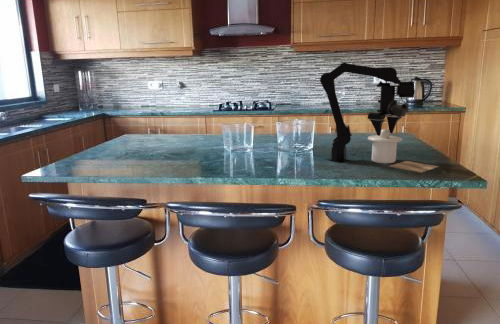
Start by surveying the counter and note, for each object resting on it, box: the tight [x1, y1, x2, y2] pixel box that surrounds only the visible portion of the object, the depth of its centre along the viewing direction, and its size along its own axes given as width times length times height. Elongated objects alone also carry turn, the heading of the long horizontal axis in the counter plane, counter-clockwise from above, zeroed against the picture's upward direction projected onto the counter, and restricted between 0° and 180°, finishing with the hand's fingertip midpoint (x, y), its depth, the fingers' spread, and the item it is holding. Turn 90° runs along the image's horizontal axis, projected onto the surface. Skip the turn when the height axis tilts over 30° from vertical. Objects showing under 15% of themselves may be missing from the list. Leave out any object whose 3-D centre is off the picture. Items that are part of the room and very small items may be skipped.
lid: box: [367, 128, 403, 143], centre depth 168 cm, size 14×14×4 cm
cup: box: [371, 141, 398, 164], centre depth 170 cm, size 10×10×10 cm
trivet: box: [389, 160, 439, 174], centre depth 160 cm, size 14×14×1 cm
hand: (385, 134), depth 168 cm, fingers open, 9 cm apart
